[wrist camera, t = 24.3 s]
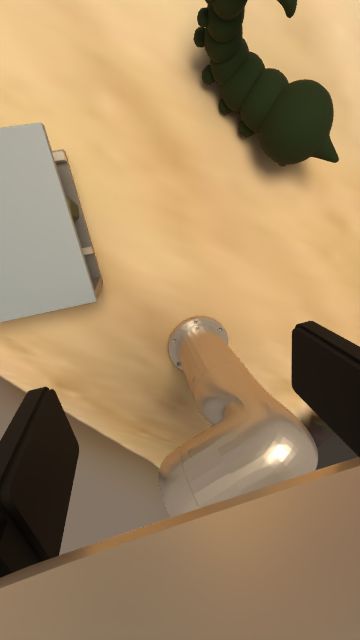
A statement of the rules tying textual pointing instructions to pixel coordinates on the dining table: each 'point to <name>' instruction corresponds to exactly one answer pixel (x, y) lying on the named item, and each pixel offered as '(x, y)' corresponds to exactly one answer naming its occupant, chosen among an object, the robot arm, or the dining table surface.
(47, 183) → the cover
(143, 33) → the dining table surface
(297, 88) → the toy figurine
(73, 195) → the grey sloped stand
